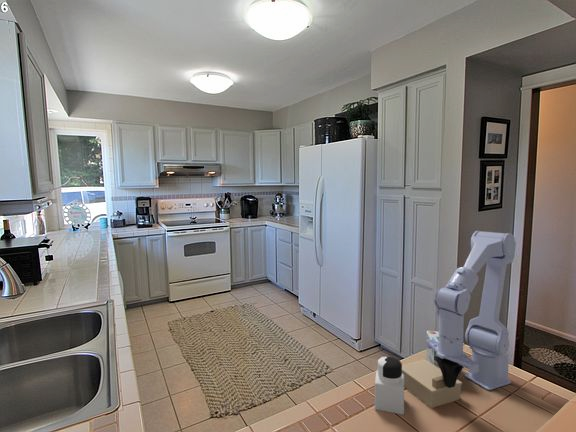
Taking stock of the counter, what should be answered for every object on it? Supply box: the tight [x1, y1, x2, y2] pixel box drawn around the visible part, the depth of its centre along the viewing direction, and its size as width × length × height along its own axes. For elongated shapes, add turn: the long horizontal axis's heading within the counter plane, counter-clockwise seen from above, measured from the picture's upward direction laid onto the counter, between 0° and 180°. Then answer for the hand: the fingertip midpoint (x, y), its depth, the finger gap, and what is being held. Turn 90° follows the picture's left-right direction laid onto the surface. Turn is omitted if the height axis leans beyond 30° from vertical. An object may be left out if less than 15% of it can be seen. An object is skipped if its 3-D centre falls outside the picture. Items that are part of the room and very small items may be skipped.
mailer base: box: [402, 372, 462, 409], centre depth 91 cm, size 10×13×4 cm
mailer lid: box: [402, 358, 463, 393], centre depth 91 cm, size 10×13×3 cm
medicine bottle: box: [374, 356, 405, 416], centre depth 85 cm, size 7×7×12 cm
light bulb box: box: [425, 330, 440, 368], centre depth 100 cm, size 11×7×11 cm, turn 168°
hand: (449, 385), depth 84 cm, fingers closed
